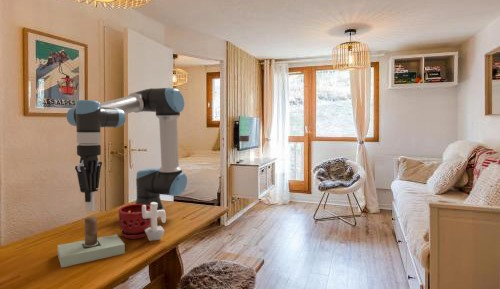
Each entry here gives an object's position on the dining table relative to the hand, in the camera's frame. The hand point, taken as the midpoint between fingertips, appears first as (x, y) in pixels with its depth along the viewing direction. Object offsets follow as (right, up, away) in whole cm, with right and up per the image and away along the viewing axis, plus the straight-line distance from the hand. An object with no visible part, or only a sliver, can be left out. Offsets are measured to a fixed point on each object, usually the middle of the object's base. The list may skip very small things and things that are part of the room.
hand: (90, 209), depth 112 cm
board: (0, -16, +1) cm, 16 cm away
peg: (0, -16, +1) cm, 16 cm away
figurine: (+18, -16, +17) cm, 29 cm away
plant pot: (+9, -15, +20) cm, 27 cm away
